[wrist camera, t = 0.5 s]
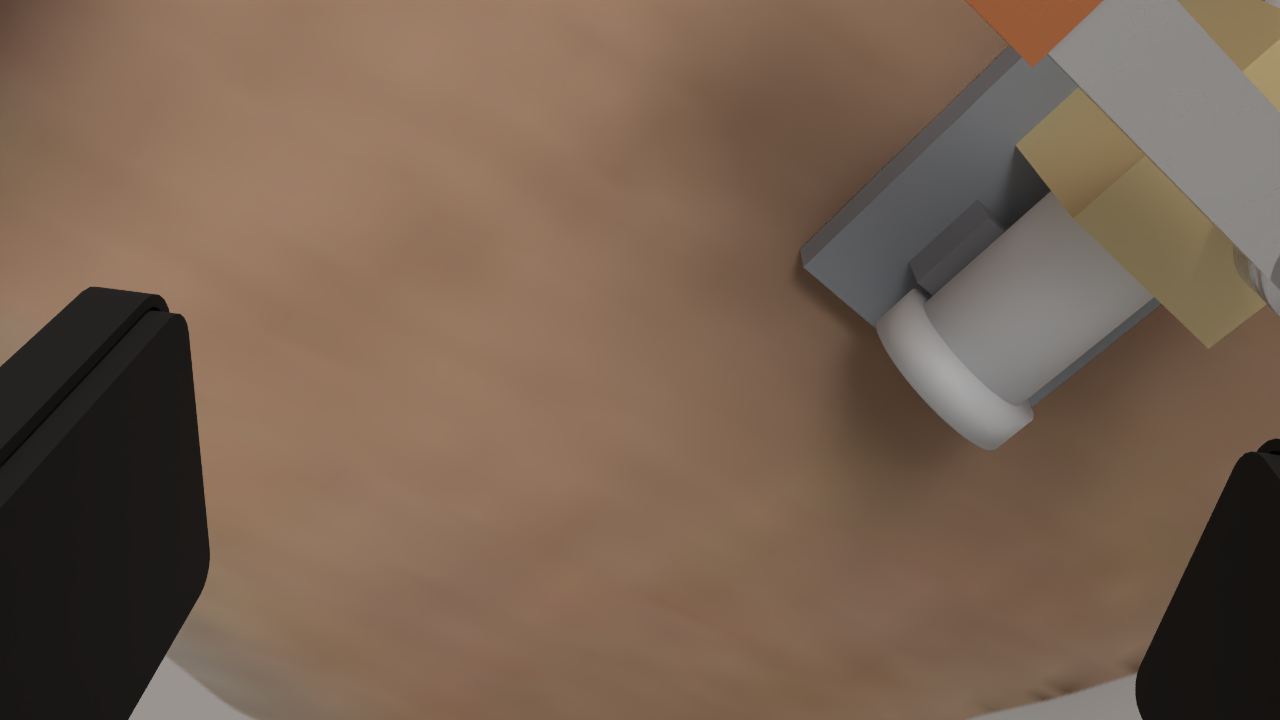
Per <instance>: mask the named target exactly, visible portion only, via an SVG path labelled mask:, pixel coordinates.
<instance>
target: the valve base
mask: <svg viewBox="0 0 1280 720" xmlns="http://www.w3.org/2000/svg"><path fill="white" fill-rule="evenodd" d="M1177 1H1178V2H1179V3H1180V4H1181V5H1182V6H1183V7H1184V8H1185V9H1186V11H1187V12H1188V13H1189V14H1190V15H1191V16H1192V17H1193V18H1194V19H1195V20H1196V22H1197V23H1198V24H1199V25H1200V26H1201V27H1202V28H1203V29H1204V30H1205V31H1206V33H1207V34H1208V35H1209V36H1210V37H1211V38H1212V39H1213V40H1214V41H1215V42H1216V43H1217V45H1218V46H1219V47H1220V48H1221V49H1222V50H1223V51H1224V52H1225V53H1226V54H1227V56H1228V57H1229V58H1230V59H1231V60H1232V61H1233V62H1234V63H1235V64H1236V65H1237V67H1238V68H1239V69H1240V70H1241V71H1242V72H1243V73H1244V74H1245V75H1246V76H1247V78H1248V79H1249V80H1250V81H1251V82H1252V83H1253V84H1254V85H1255V86H1256V87H1257V88H1258V90H1259V91H1260V92H1261V93H1262V94H1263V95H1264V96H1265V97H1266V98H1267V99H1268V101H1269V102H1270V103H1271V104H1272V105H1273V106H1274V107H1275V108H1276V109H1277V110H1278V112H1279V113H1280V0H1177ZM1233 246H1234V245H1233V244H1232V243H1231V242H1230V241H1229V240H1228V239H1227V238H1226V237H1225V236H1224V235H1223V234H1222V233H1221V232H1220V231H1219V230H1218V229H1217V228H1216V227H1215V226H1214V225H1213V224H1212V223H1211V222H1210V221H1209V220H1208V219H1207V218H1206V217H1205V216H1204V215H1203V214H1202V213H1201V212H1200V211H1199V210H1198V209H1197V208H1196V207H1195V206H1194V205H1193V204H1192V203H1191V202H1190V201H1189V200H1188V199H1187V198H1186V197H1185V196H1184V195H1183V193H1182V192H1181V191H1180V190H1179V189H1178V188H1177V187H1176V186H1175V185H1174V184H1173V183H1172V182H1171V181H1170V180H1169V179H1168V178H1167V177H1166V176H1165V175H1164V174H1163V173H1162V172H1161V171H1160V170H1159V169H1158V168H1157V167H1156V166H1155V165H1154V164H1153V163H1152V162H1151V161H1150V160H1149V159H1148V158H1147V157H1146V156H1145V155H1144V154H1143V153H1142V152H1141V151H1140V150H1139V149H1138V148H1137V147H1136V146H1135V145H1134V144H1133V143H1132V142H1131V141H1130V140H1129V138H1128V137H1127V136H1126V135H1125V134H1124V133H1123V132H1122V131H1121V130H1120V129H1119V128H1118V127H1117V126H1116V125H1115V124H1114V123H1113V122H1112V121H1111V120H1110V119H1109V118H1108V117H1107V116H1106V115H1105V114H1104V113H1103V112H1102V111H1101V110H1100V109H1099V108H1098V107H1097V106H1096V105H1095V104H1094V103H1093V102H1092V101H1091V100H1090V99H1089V98H1088V97H1087V96H1086V95H1085V94H1084V93H1083V92H1082V91H1081V90H1080V89H1079V88H1078V87H1077V86H1076V84H1075V83H1074V82H1073V81H1072V80H1071V79H1070V78H1069V77H1068V76H1067V75H1066V74H1065V73H1064V72H1063V71H1062V70H1061V69H1060V68H1059V67H1058V66H1057V65H1056V64H1055V63H1054V62H1053V61H1052V60H1051V59H1050V58H1049V57H1048V56H1047V55H1046V56H1045V57H1044V58H1042V59H1041V60H1040V61H1039V62H1038V63H1037V64H1036V65H1035V66H1034V67H1032V66H1030V65H1029V64H1028V63H1027V62H1026V61H1025V60H1024V59H1023V58H1022V57H1021V56H1020V55H1019V54H1018V53H1017V52H1016V51H1015V50H1014V49H1013V48H1012V47H1011V46H1009V47H1008V48H1007V49H1006V50H1005V51H1004V52H1003V53H1002V54H1001V55H1000V56H999V57H997V58H996V59H995V60H994V61H993V62H992V63H991V64H990V65H989V66H988V67H987V68H986V69H985V70H984V71H983V72H982V73H981V74H980V75H979V76H978V77H977V78H976V79H975V80H974V81H973V82H972V83H971V84H970V85H969V86H968V87H967V88H966V89H965V90H964V91H962V92H961V93H960V94H959V95H958V96H957V97H956V98H955V99H954V100H953V101H952V102H951V103H950V104H949V105H948V106H947V107H946V108H945V109H944V110H943V111H942V112H941V113H940V114H939V115H938V116H937V117H936V118H935V119H934V120H933V121H932V122H931V123H930V124H928V125H927V126H926V127H925V128H924V129H923V130H922V131H921V132H920V133H919V134H918V135H917V136H916V137H915V138H914V139H913V140H912V141H911V142H910V143H909V144H908V145H907V146H906V147H905V148H904V149H903V150H902V151H901V152H900V153H899V154H898V155H897V156H896V157H895V158H893V159H892V160H891V161H890V162H889V163H888V164H887V165H886V166H885V167H884V168H883V169H882V170H881V171H880V172H879V173H878V174H877V175H876V176H875V177H874V178H873V179H872V180H871V181H870V182H869V183H868V184H867V185H866V186H865V187H864V188H863V189H862V190H861V191H859V192H858V193H857V194H856V195H855V196H854V197H853V198H852V199H851V200H850V201H849V202H848V203H847V204H846V205H845V206H844V207H843V208H842V209H841V210H840V211H839V212H838V213H837V214H836V215H835V216H834V217H833V218H832V219H831V220H830V221H829V222H828V223H827V224H825V225H824V226H823V227H822V228H821V229H820V230H819V231H818V232H817V233H816V234H815V235H814V236H813V237H812V238H811V239H810V240H809V241H808V242H807V243H806V244H805V245H804V246H803V247H802V248H801V249H800V253H801V258H802V263H803V267H804V268H805V269H806V270H807V271H808V272H809V273H811V274H812V275H813V276H814V277H815V278H817V279H818V280H819V281H820V282H821V283H822V284H824V285H825V286H826V287H827V288H828V289H829V290H831V291H832V292H833V293H834V294H835V295H836V296H838V297H839V298H840V299H841V300H842V301H844V302H845V303H846V304H847V305H848V306H849V307H851V308H852V309H853V310H854V311H855V312H856V313H858V314H859V315H860V316H861V317H862V318H864V319H865V320H866V321H867V322H868V323H869V324H871V325H872V326H873V327H874V328H875V329H876V330H877V333H878V336H879V338H880V340H881V342H882V344H883V346H884V348H885V350H886V352H887V353H888V355H889V356H890V358H891V359H892V361H893V362H894V364H895V365H896V367H897V368H898V370H899V371H900V372H901V373H902V375H903V376H904V377H905V379H906V380H907V381H908V382H909V384H910V385H911V386H912V387H913V388H914V390H915V391H916V392H917V393H918V394H919V395H920V396H921V398H922V399H923V400H924V401H925V402H926V403H927V404H928V405H929V406H930V407H931V408H932V409H933V410H934V411H935V412H936V413H937V414H938V415H939V416H940V417H941V418H942V419H943V420H944V421H945V422H946V423H947V424H949V425H950V426H951V427H952V428H953V429H954V430H956V431H957V432H958V433H959V434H961V435H962V436H963V437H965V438H966V439H967V440H969V441H970V442H972V443H973V444H975V445H977V446H978V447H980V448H982V449H985V450H988V451H994V450H996V449H997V448H998V447H999V446H1001V445H1002V444H1003V443H1004V442H1006V441H1007V440H1008V439H1009V438H1011V437H1012V436H1013V435H1015V434H1016V433H1017V432H1018V431H1020V430H1021V429H1022V428H1023V427H1025V426H1026V425H1027V424H1028V423H1030V422H1031V421H1032V420H1033V419H1034V414H1033V410H1032V407H1033V406H1034V405H1036V404H1037V403H1038V402H1039V401H1041V400H1042V399H1043V398H1044V397H1046V396H1047V395H1048V394H1049V393H1051V392H1052V391H1053V390H1054V389H1056V388H1057V387H1058V386H1059V385H1061V384H1062V383H1063V382H1064V381H1066V380H1067V379H1068V378H1069V377H1071V376H1072V375H1073V374H1075V373H1076V372H1077V371H1078V370H1080V369H1081V368H1082V367H1083V366H1085V365H1086V364H1087V363H1088V362H1090V361H1091V360H1092V359H1093V358H1095V357H1096V356H1097V355H1098V354H1100V353H1101V352H1102V351H1103V350H1105V349H1106V348H1107V347H1108V346H1110V345H1111V344H1112V343H1113V342H1115V341H1116V340H1117V339H1118V338H1120V337H1121V336H1122V335H1123V334H1125V333H1126V332H1127V331H1128V330H1130V329H1131V328H1132V327H1133V326H1135V325H1136V324H1137V323H1138V322H1140V321H1141V320H1142V319H1143V318H1145V317H1146V316H1147V315H1148V314H1150V313H1151V312H1152V311H1153V310H1155V309H1156V308H1157V307H1158V306H1160V305H1161V304H1162V305H1163V306H1164V307H1165V308H1166V309H1167V310H1168V311H1169V312H1170V313H1172V314H1173V315H1174V316H1175V317H1176V318H1177V319H1178V320H1179V321H1180V322H1181V323H1182V324H1183V325H1184V326H1185V327H1186V328H1187V329H1188V330H1189V331H1190V332H1191V333H1192V334H1193V335H1194V336H1195V337H1196V338H1197V339H1199V340H1200V341H1201V342H1202V343H1203V344H1204V345H1205V346H1206V347H1207V348H1208V349H1209V348H1211V347H1212V346H1213V345H1215V344H1216V343H1217V342H1219V341H1220V340H1221V339H1223V338H1224V337H1225V336H1226V335H1228V334H1229V333H1230V332H1232V331H1233V330H1234V329H1236V328H1237V327H1238V326H1240V325H1241V324H1242V323H1243V322H1245V321H1246V320H1247V319H1249V318H1250V317H1251V316H1253V315H1254V314H1255V313H1257V312H1258V311H1259V310H1260V309H1262V308H1263V307H1264V306H1266V305H1267V304H1266V303H1265V302H1264V301H1263V300H1262V299H1261V298H1260V297H1259V296H1258V295H1257V294H1256V293H1255V292H1254V291H1253V290H1252V289H1251V288H1250V287H1249V286H1248V285H1247V284H1246V283H1245V282H1244V280H1243V279H1242V278H1241V277H1240V275H1239V273H1238V272H1237V269H1236V267H1235V264H1234V258H1233Z"/></svg>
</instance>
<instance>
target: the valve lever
mask: <svg viewBox="0 0 1280 720" xmlns="http://www.w3.org/2000/svg"><path fill="white" fill-rule="evenodd" d="M965 1H966V2H967V3H968V4H969V5H970V6H971V7H972V8H973V9H974V10H975V11H976V12H977V13H978V14H979V15H980V16H981V17H982V18H983V19H984V20H985V21H986V22H987V23H988V24H989V25H990V26H991V27H992V28H993V29H994V30H995V31H996V32H997V33H998V34H999V35H1000V36H1001V37H1002V38H1003V39H1004V40H1005V41H1006V42H1007V43H1008V44H1009V45H1010V46H1011V47H1012V48H1013V49H1014V50H1015V51H1016V52H1017V53H1018V54H1019V55H1020V56H1021V57H1022V58H1023V59H1024V60H1025V61H1026V62H1027V63H1028V64H1029V65H1030V66H1032V67H1034V66H1035V65H1036V64H1037V63H1038V62H1039V61H1040V60H1041V59H1042V58H1044V57H1045V56H1046V55H1047V56H1048V57H1049V58H1050V59H1051V60H1052V61H1053V62H1054V63H1055V64H1056V65H1057V66H1058V67H1059V68H1060V69H1061V70H1062V71H1063V72H1064V73H1065V74H1066V75H1067V76H1068V77H1069V78H1070V79H1071V80H1072V81H1073V82H1074V83H1075V84H1076V86H1077V87H1078V88H1079V89H1080V90H1081V91H1082V92H1083V93H1084V94H1085V95H1086V96H1087V97H1088V98H1089V99H1090V100H1091V101H1092V102H1093V103H1094V104H1095V105H1096V106H1097V107H1098V108H1099V109H1100V110H1101V111H1102V112H1103V113H1104V114H1105V115H1106V116H1107V117H1108V118H1109V119H1110V120H1111V121H1112V122H1113V123H1114V124H1115V125H1116V126H1117V127H1118V128H1119V129H1120V130H1121V131H1122V132H1123V133H1124V134H1125V135H1126V136H1127V137H1128V138H1129V140H1130V141H1131V142H1132V143H1133V144H1134V145H1135V146H1136V147H1137V148H1138V149H1139V150H1140V151H1141V152H1142V153H1143V154H1144V155H1145V156H1146V157H1147V158H1148V159H1149V160H1150V161H1151V162H1152V163H1153V164H1154V165H1155V166H1156V167H1157V168H1158V169H1159V170H1160V171H1161V172H1162V173H1163V174H1164V175H1165V176H1166V177H1167V178H1168V179H1169V180H1170V181H1171V182H1172V183H1173V184H1174V185H1175V186H1176V187H1177V188H1178V189H1179V190H1180V191H1181V192H1182V193H1183V195H1184V196H1185V197H1186V198H1187V199H1188V200H1189V201H1190V202H1191V203H1192V204H1193V205H1194V206H1195V207H1196V208H1197V209H1198V210H1199V211H1200V212H1201V213H1202V214H1203V215H1204V216H1205V217H1206V218H1207V219H1208V220H1209V221H1210V222H1211V223H1212V224H1213V225H1214V226H1215V227H1216V228H1217V229H1218V230H1219V231H1220V232H1221V233H1222V234H1223V235H1224V236H1225V237H1226V238H1227V239H1228V240H1229V241H1230V242H1231V243H1232V244H1233V245H1234V246H1233V258H1234V264H1235V267H1236V269H1237V272H1238V273H1239V275H1240V277H1241V278H1242V279H1243V280H1244V282H1245V283H1246V284H1247V285H1248V286H1249V287H1250V288H1251V289H1252V290H1253V291H1254V292H1255V293H1256V294H1257V295H1258V296H1259V297H1260V298H1261V299H1262V300H1263V301H1264V302H1265V303H1266V304H1267V305H1268V306H1269V307H1270V308H1271V309H1272V310H1273V311H1274V312H1275V313H1276V314H1277V315H1278V316H1279V317H1280V113H1279V112H1278V110H1277V109H1276V108H1275V107H1274V106H1273V105H1272V104H1271V103H1270V102H1269V101H1268V99H1267V98H1266V97H1265V96H1264V95H1263V94H1262V93H1261V92H1260V91H1259V90H1258V88H1257V87H1256V86H1255V85H1254V84H1253V83H1252V82H1251V81H1250V80H1249V79H1248V78H1247V76H1246V75H1245V74H1244V73H1243V72H1242V71H1241V70H1240V69H1239V68H1238V67H1237V65H1236V64H1235V63H1234V62H1233V61H1232V60H1231V59H1230V58H1229V57H1228V56H1227V54H1226V53H1225V52H1224V51H1223V50H1222V49H1221V48H1220V47H1219V46H1218V45H1217V43H1216V42H1215V41H1214V40H1213V39H1212V38H1211V37H1210V36H1209V35H1208V34H1207V33H1206V31H1205V30H1204V29H1203V28H1202V27H1201V26H1200V25H1199V24H1198V23H1197V22H1196V20H1195V19H1194V18H1193V17H1192V16H1191V15H1190V14H1189V13H1188V12H1187V11H1186V9H1185V8H1184V7H1183V6H1182V5H1181V4H1180V3H1179V2H1178V1H1177V0H965Z"/></svg>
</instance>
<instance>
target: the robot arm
mask: <svg viewBox="0 0 1280 720" xmlns="http://www.w3.org/2000/svg"><path fill="white" fill-rule="evenodd" d="M209 561H210V548H209V538H208V528H207V517H206V507H205V497H204V486H203V476H202V465H201V455H200V445H199V434H198V424H197V414H196V403H195V393H194V382H193V372H192V362H191V351H190V341H189V332H188V326H187V323H186V320H185V318H184V317H183V316H182V315H181V314H175V313H169V309H168V306H167V304H166V302H165V300H164V299H163V298H162V297H161V296H160V295H156V294H148V293H140V292H133V291H125V290H117V289H109V288H102V287H89V288H88V289H86V290H84V291H83V292H81V293H80V294H79V295H78V296H77V297H76V298H75V299H74V300H73V301H72V302H71V303H69V304H68V305H67V306H66V307H65V308H64V309H63V310H62V311H61V312H60V313H59V314H57V315H56V316H55V317H54V318H53V319H52V320H51V321H50V322H49V323H48V324H47V325H46V326H44V327H43V328H42V329H41V330H40V331H39V332H38V333H37V334H36V335H35V336H34V337H32V338H31V339H30V340H29V341H28V342H27V343H26V344H25V345H24V346H23V347H22V348H20V349H19V350H18V351H17V352H16V353H15V354H14V355H13V356H12V357H11V358H10V359H8V360H7V361H6V362H5V363H4V364H3V365H2V366H1V367H0V720H128V719H129V717H130V715H131V714H132V712H133V710H134V708H135V707H136V705H137V703H138V702H139V700H140V698H141V696H142V695H143V693H144V691H145V689H146V688H147V686H148V684H149V682H150V681H151V679H152V677H153V676H154V674H155V672H156V670H157V669H158V667H159V665H160V663H161V662H162V660H163V658H164V657H165V655H166V653H167V651H168V650H169V648H170V646H171V644H172V643H173V641H174V639H175V638H176V636H177V634H178V632H179V631H180V629H181V627H182V625H183V624H184V622H185V620H186V618H187V617H188V615H189V613H190V612H191V610H192V608H193V606H194V605H195V603H196V601H197V599H198V598H199V596H200V594H201V592H202V590H203V588H204V585H205V581H206V578H207V574H208V569H209ZM1136 701H1137V706H1138V709H1139V712H1140V715H1141V717H1142V719H1143V720H1280V439H1273V440H1270V441H1267V442H1266V443H1265V444H1263V445H1262V446H1261V447H1260V448H1259V449H1258V451H1257V452H1249V453H1245V454H1244V455H1243V456H1242V457H1241V458H1240V459H1239V460H1238V462H1237V463H1236V465H1235V466H1234V468H1233V470H1232V473H1231V475H1230V477H1229V479H1228V481H1227V483H1226V485H1225V487H1224V490H1223V492H1222V494H1221V496H1220V498H1219V500H1218V502H1217V504H1216V506H1215V509H1214V511H1213V513H1212V515H1211V517H1210V519H1209V521H1208V523H1207V525H1206V528H1205V530H1204V532H1203V534H1202V536H1201V538H1200V540H1199V542H1198V545H1197V547H1196V549H1195V551H1194V553H1193V555H1192V557H1191V559H1190V561H1189V564H1188V566H1187V568H1186V570H1185V572H1184V574H1183V576H1182V578H1181V580H1180V583H1179V585H1178V587H1177V589H1176V591H1175V593H1174V595H1173V597H1172V600H1171V602H1170V604H1169V606H1168V608H1167V610H1166V612H1165V614H1164V616H1163V619H1162V621H1161V623H1160V625H1159V627H1158V629H1157V631H1156V633H1155V635H1154V638H1153V640H1152V642H1151V644H1150V646H1149V648H1148V650H1147V652H1146V655H1145V657H1144V659H1143V661H1142V663H1141V665H1140V667H1139V670H1138V673H1137V678H1136Z"/></svg>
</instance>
